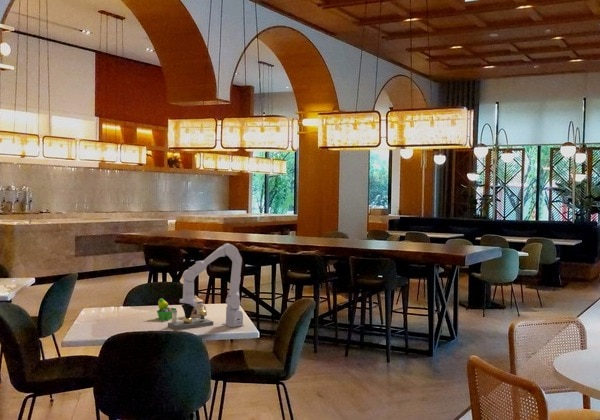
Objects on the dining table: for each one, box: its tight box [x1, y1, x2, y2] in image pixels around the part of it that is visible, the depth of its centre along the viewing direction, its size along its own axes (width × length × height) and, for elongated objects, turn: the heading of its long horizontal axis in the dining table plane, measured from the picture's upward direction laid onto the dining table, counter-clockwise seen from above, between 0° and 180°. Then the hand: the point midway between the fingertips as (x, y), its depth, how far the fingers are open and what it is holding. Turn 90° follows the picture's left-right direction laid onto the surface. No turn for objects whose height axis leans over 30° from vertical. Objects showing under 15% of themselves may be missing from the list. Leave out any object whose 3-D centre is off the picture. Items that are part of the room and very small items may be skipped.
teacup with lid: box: [191, 295, 207, 319], centre depth 381 cm, size 12×9×12 cm
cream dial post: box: [171, 309, 178, 324], centre depth 352 cm, size 3×3×7 cm
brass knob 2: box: [198, 309, 208, 319], centre depth 359 cm, size 4×4×4 cm
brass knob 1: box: [183, 317, 193, 324], centre depth 354 cm, size 4×4×4 cm
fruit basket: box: [156, 297, 177, 321], centre depth 373 cm, size 11×9×11 cm
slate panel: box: [167, 318, 214, 331], centre depth 356 cm, size 10×22×2 cm, turn 130°
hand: (187, 318), depth 353 cm, fingers closed, pressing on brass knob 1
